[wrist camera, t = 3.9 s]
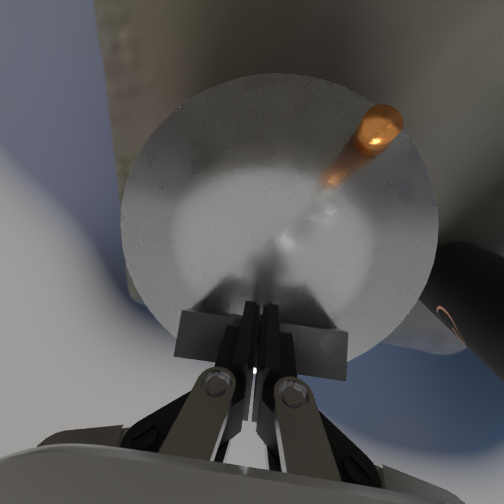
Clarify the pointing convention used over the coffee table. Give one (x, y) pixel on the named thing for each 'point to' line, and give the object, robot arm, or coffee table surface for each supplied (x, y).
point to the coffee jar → (470, 299)
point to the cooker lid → (280, 218)
